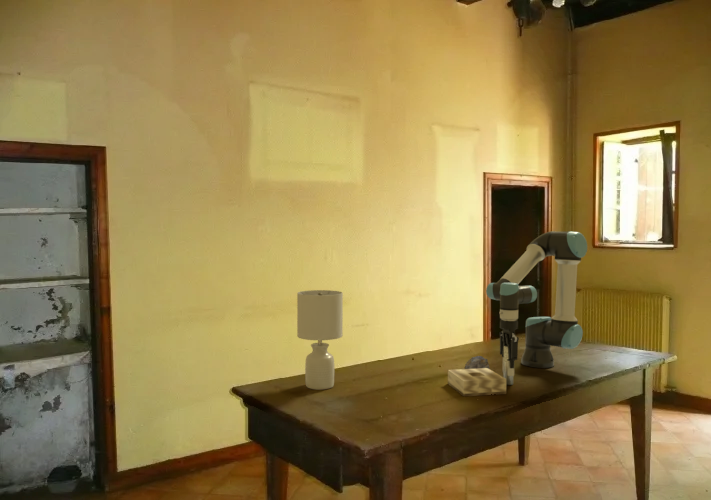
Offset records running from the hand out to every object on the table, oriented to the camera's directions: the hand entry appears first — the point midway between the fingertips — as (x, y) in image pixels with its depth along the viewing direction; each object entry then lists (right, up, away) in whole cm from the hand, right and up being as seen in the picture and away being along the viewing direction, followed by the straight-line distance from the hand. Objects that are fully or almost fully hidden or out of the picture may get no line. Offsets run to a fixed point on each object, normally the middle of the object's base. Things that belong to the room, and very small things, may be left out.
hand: (508, 373), depth 244 cm
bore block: (-15, -5, -7) cm, 17 cm away
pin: (0, -4, 0) cm, 4 cm away
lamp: (-80, -4, -4) cm, 80 cm away
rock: (-10, -4, +15) cm, 19 cm away
